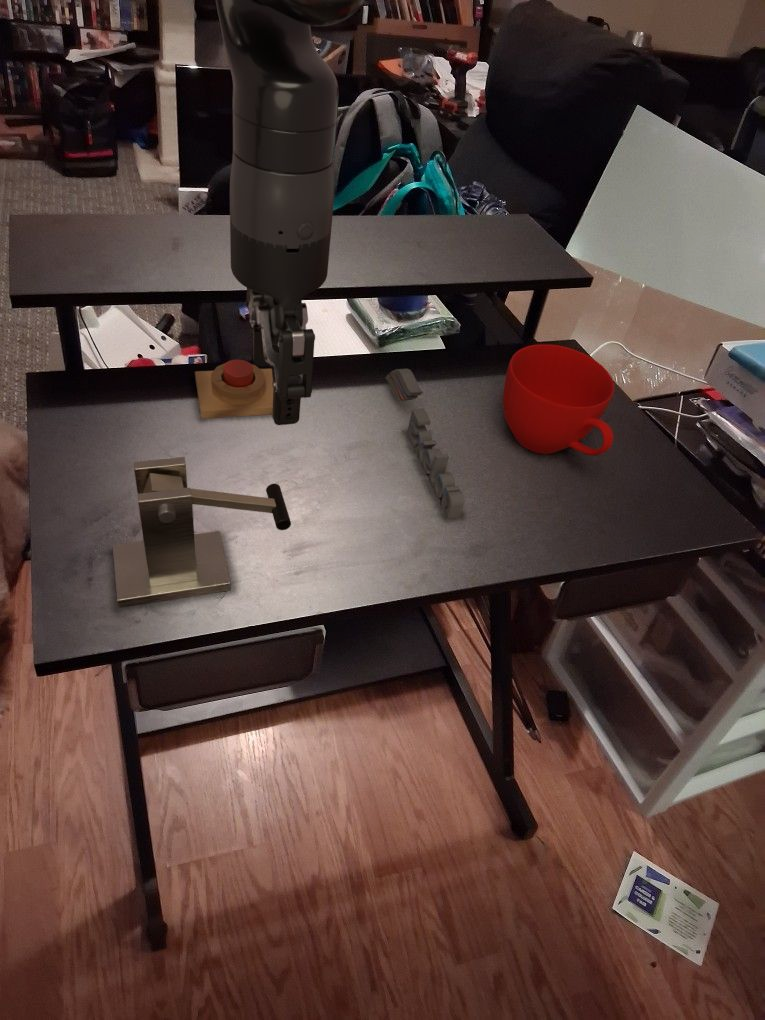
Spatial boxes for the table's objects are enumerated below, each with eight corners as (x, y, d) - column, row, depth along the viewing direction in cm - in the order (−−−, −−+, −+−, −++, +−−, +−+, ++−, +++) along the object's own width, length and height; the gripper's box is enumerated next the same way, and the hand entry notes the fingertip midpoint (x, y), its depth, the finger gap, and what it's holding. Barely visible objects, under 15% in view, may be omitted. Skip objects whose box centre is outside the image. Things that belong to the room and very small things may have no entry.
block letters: (383, 385, 99) (389, 350, 95) (394, 384, 99) (401, 349, 95) (447, 519, 83) (457, 483, 79) (459, 517, 83) (471, 482, 79)
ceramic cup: (546, 503, 87) (574, 439, 80) (470, 416, 97) (489, 353, 90) (626, 477, 93) (659, 415, 85) (547, 398, 102) (570, 336, 95)
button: (225, 389, 90) (225, 377, 88) (222, 371, 92) (221, 359, 91) (255, 387, 90) (255, 376, 89) (251, 370, 93) (251, 358, 92)
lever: (275, 497, 73) (284, 480, 72) (286, 534, 70) (295, 517, 69) (141, 481, 66) (148, 461, 65) (146, 521, 63) (154, 501, 62)
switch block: (201, 418, 89) (200, 398, 87) (195, 378, 94) (194, 359, 92) (282, 413, 92) (283, 394, 90) (272, 375, 97) (273, 356, 95)
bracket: (219, 538, 76) (217, 445, 67) (231, 590, 72) (229, 499, 63) (113, 552, 73) (95, 457, 64) (118, 608, 69) (99, 515, 60)
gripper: (214, 175, 58) (219, 349, 69) (250, 266, 49) (248, 448, 60) (307, 176, 60) (297, 344, 72) (357, 263, 51) (336, 439, 63)
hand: (274, 391), depth 66 cm, fingers open, 8 cm apart
